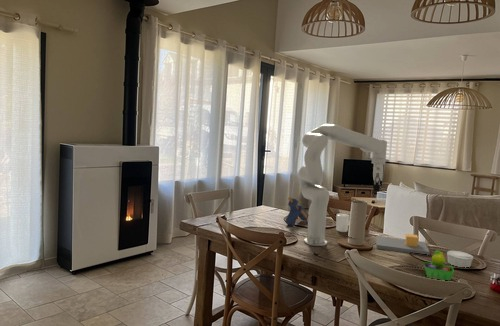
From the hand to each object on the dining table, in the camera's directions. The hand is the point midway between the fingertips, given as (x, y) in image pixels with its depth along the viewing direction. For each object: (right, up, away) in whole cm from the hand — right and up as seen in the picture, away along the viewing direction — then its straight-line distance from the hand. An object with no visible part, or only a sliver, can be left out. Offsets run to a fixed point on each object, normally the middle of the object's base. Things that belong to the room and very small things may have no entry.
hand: (376, 190), depth 217 cm
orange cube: (+14, -29, -15) cm, 35 cm away
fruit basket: (+9, -35, -53) cm, 64 cm away
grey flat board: (+9, -30, -13) cm, 34 cm away
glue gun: (-43, -24, +27) cm, 56 cm away
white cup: (-17, -27, +14) cm, 34 cm away
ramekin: (+28, -34, -36) cm, 57 cm away
